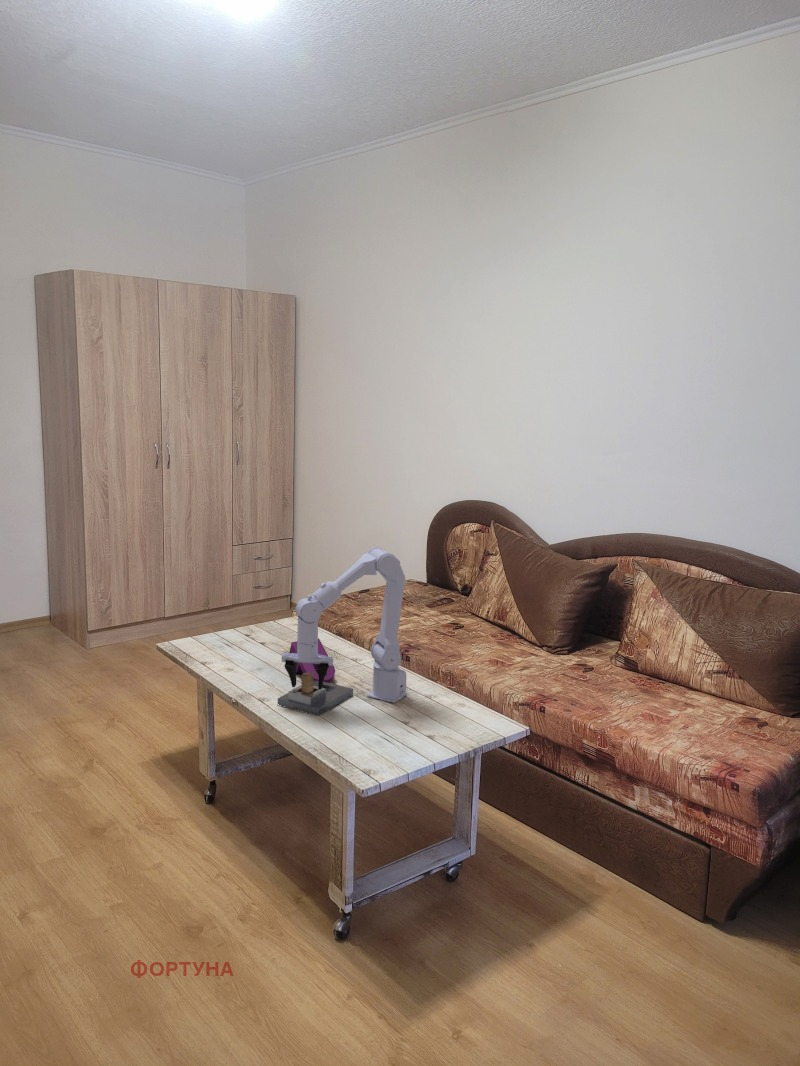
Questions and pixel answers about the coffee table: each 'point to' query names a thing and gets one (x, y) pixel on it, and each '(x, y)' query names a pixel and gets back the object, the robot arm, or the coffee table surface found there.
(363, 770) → the coffee table surface
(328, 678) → the mounting bracket
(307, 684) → the pin
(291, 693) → the mount plate
